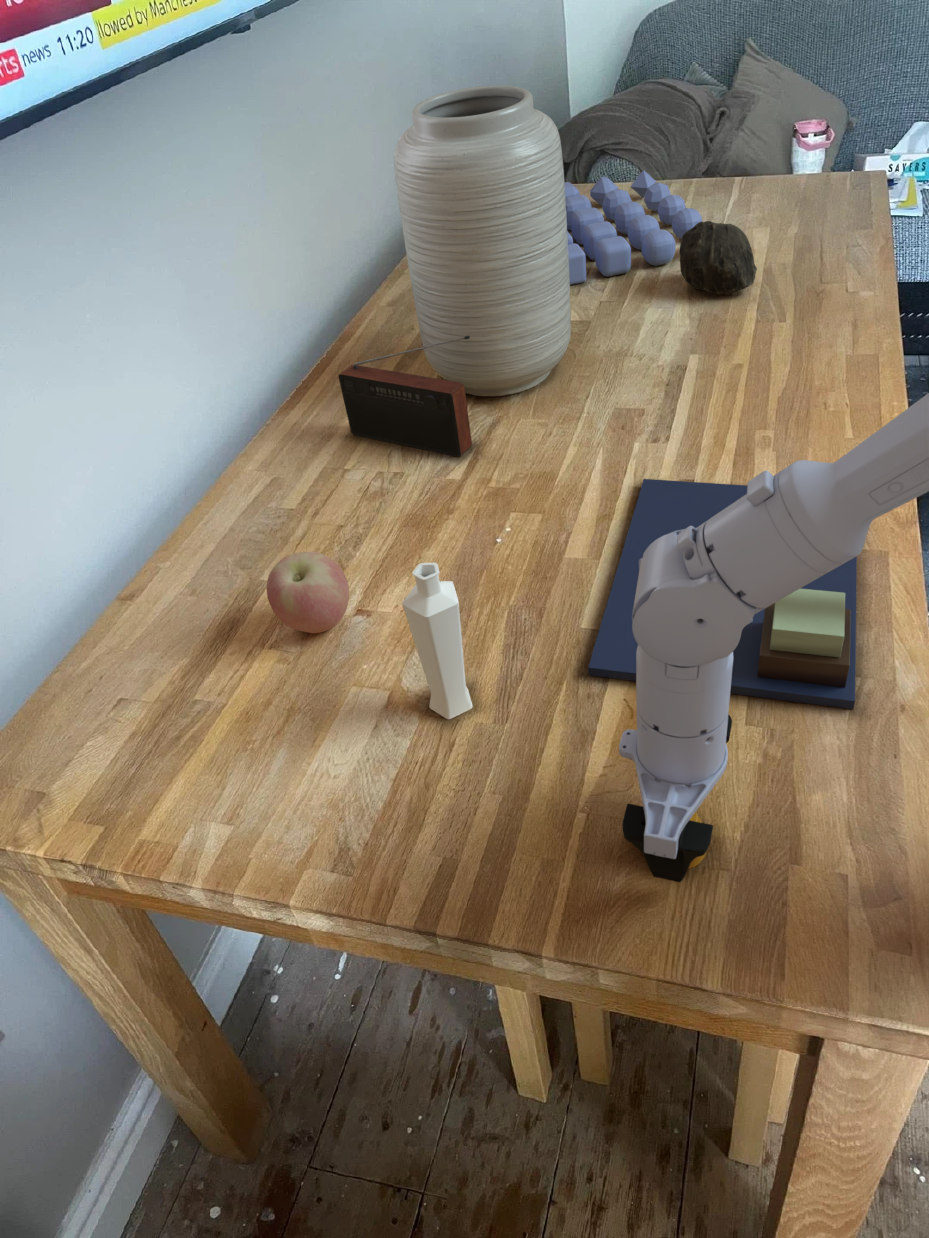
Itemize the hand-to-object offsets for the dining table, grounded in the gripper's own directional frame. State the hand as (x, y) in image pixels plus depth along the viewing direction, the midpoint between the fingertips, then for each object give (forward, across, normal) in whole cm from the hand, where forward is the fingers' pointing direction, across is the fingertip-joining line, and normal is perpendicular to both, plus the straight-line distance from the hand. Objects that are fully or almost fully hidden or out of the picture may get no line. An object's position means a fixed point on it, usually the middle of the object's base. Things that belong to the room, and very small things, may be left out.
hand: (676, 831), depth 68 cm
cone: (+2, 0, 0) cm, 2 cm away
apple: (+2, -17, -38) cm, 42 cm away
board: (+2, -31, 0) cm, 31 cm away
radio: (+2, -51, -41) cm, 65 cm away
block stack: (+1, -21, +7) cm, 22 cm away
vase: (+2, -70, -36) cm, 79 cm away
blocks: (+2, -117, -35) cm, 123 cm away
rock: (+2, -99, -11) cm, 100 cm away
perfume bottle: (+2, -10, -21) cm, 23 cm away
